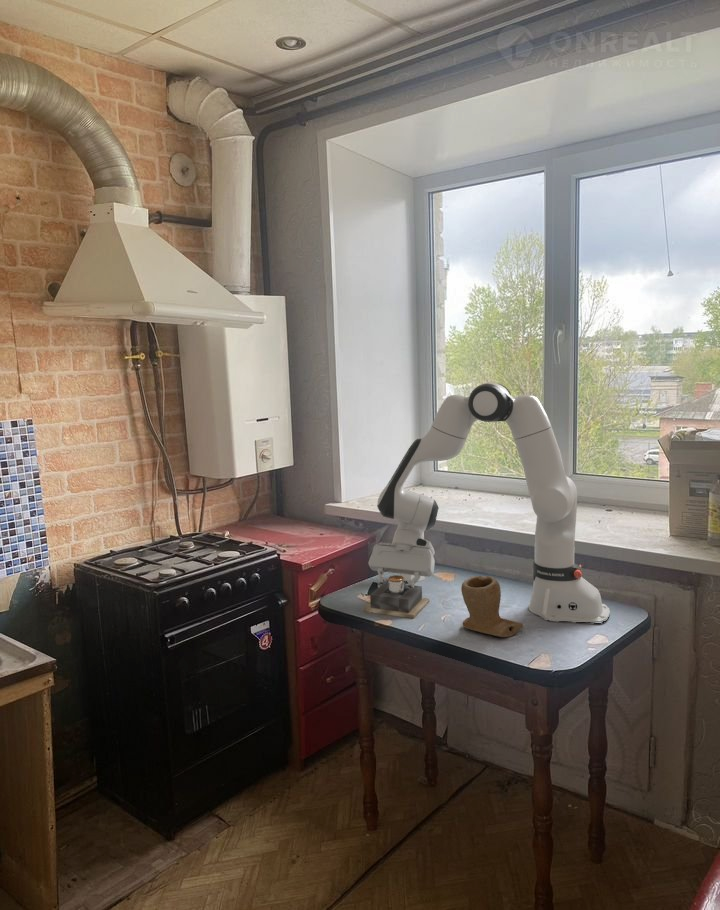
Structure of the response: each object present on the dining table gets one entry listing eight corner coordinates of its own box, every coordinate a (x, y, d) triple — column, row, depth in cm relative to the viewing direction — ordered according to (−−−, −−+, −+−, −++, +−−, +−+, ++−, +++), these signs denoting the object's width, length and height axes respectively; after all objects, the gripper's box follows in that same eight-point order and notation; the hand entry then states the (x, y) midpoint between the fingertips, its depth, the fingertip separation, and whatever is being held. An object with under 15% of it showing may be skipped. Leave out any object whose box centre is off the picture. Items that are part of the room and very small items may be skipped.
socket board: (429, 601, 208) (429, 586, 207) (414, 618, 195) (413, 601, 194) (381, 595, 214) (380, 580, 214) (363, 611, 202) (362, 595, 201)
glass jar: (406, 601, 206) (405, 576, 205) (401, 606, 202) (400, 580, 201) (392, 599, 208) (391, 574, 206) (387, 604, 204) (386, 579, 202)
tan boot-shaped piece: (452, 631, 185) (452, 578, 183) (477, 618, 194) (476, 567, 192) (500, 646, 175) (500, 590, 173) (524, 632, 184) (524, 578, 181)
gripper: (372, 537, 212) (360, 576, 205) (435, 542, 204) (425, 584, 197) (378, 547, 217) (366, 586, 210) (439, 552, 209) (430, 593, 201)
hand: (395, 585), depth 203 cm, fingers open, 8 cm apart
